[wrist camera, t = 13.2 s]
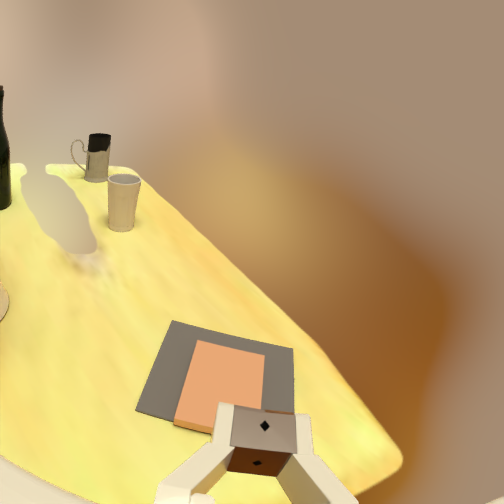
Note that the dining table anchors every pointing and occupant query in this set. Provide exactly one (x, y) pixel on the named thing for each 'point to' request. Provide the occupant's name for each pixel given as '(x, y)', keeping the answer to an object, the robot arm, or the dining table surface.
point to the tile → (218, 384)
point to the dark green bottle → (4, 161)
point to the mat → (179, 358)
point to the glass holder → (96, 157)
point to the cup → (122, 201)
